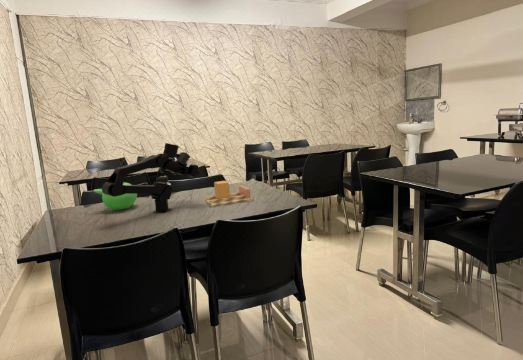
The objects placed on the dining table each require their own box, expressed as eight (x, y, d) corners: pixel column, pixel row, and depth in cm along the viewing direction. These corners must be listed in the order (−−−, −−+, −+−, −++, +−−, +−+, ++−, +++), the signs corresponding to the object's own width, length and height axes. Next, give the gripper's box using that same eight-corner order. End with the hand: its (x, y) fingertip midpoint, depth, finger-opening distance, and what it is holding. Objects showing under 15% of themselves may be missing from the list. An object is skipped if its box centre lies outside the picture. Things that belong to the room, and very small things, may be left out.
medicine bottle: (169, 198, 208) (166, 177, 205) (156, 198, 208) (154, 178, 205) (172, 195, 215) (170, 175, 212) (160, 195, 215) (158, 175, 212)
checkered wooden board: (211, 207, 182) (211, 201, 182) (204, 201, 195) (204, 196, 195) (252, 200, 191) (252, 195, 190) (243, 195, 203) (242, 190, 203)
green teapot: (125, 213, 179) (121, 184, 177) (95, 213, 183) (90, 185, 180) (144, 204, 197) (141, 177, 194) (116, 204, 200) (112, 177, 197)
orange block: (218, 201, 188) (217, 184, 186) (215, 198, 193) (214, 182, 191) (229, 199, 190) (228, 182, 188) (226, 197, 195) (225, 180, 194)
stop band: (246, 198, 190) (246, 189, 189) (239, 194, 201) (238, 185, 200) (250, 198, 191) (249, 189, 190) (242, 194, 202) (241, 185, 201)
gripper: (188, 151, 177) (211, 160, 188) (166, 150, 189) (190, 158, 201) (182, 173, 176) (206, 181, 187) (161, 170, 188) (185, 177, 200)
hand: (197, 173), depth 194 cm, fingers open, 9 cm apart
